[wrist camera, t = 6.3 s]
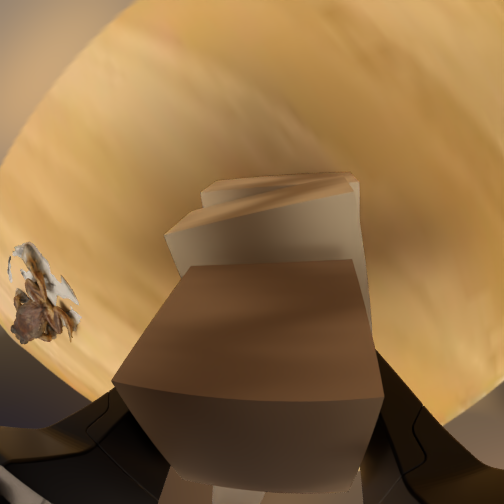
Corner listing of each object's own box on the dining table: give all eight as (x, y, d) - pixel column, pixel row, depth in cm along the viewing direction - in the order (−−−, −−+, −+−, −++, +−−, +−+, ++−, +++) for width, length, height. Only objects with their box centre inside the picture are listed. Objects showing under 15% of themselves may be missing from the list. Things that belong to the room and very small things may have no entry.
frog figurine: (71, 362, 27) (53, 384, 24) (3, 284, 24) (-19, 301, 21) (112, 323, 22) (89, 353, 19) (24, 220, 20) (-7, 237, 16)
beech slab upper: (343, 175, 12) (354, 191, 9) (364, 311, 14) (373, 350, 12) (190, 211, 14) (163, 235, 11) (235, 330, 16) (222, 369, 14)
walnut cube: (352, 259, 8) (383, 397, 4) (344, 374, 10) (348, 492, 6) (190, 265, 9) (111, 380, 5) (219, 373, 12) (182, 479, 7)
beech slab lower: (349, 170, 15) (359, 182, 12) (348, 287, 17) (354, 317, 15) (217, 179, 16) (200, 192, 13) (235, 290, 19) (224, 319, 16)
